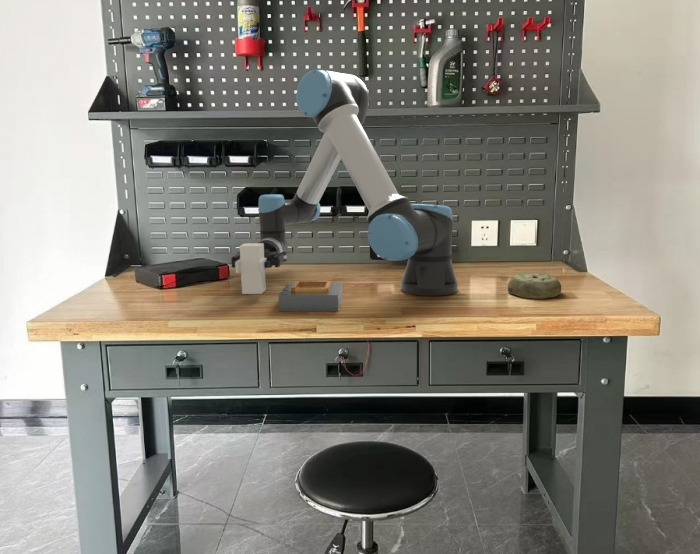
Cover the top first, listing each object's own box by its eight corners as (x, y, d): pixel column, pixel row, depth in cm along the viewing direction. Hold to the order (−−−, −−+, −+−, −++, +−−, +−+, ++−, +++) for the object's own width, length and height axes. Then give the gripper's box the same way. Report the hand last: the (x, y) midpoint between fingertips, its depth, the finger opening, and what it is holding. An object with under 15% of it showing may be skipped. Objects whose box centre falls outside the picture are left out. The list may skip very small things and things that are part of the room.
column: (265, 289, 154) (263, 243, 151) (261, 293, 149) (259, 246, 147) (246, 289, 154) (244, 243, 152) (242, 293, 149) (239, 246, 147)
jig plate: (342, 297, 155) (342, 278, 154) (338, 311, 141) (337, 290, 140) (288, 297, 155) (288, 278, 154) (279, 311, 142) (278, 290, 141)
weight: (563, 301, 148) (564, 282, 147) (507, 299, 152) (508, 279, 151) (558, 289, 161) (559, 271, 160) (507, 287, 165) (507, 270, 164)
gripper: (299, 265, 168) (285, 282, 146) (236, 266, 170) (213, 282, 147) (298, 239, 167) (284, 252, 144) (234, 239, 168) (211, 252, 145)
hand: (248, 267), depth 145 cm, fingers closed on column, 5 cm apart
